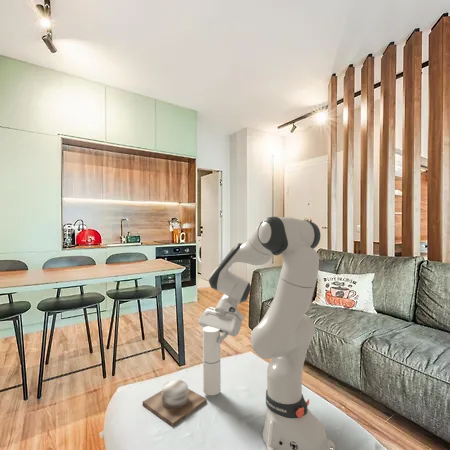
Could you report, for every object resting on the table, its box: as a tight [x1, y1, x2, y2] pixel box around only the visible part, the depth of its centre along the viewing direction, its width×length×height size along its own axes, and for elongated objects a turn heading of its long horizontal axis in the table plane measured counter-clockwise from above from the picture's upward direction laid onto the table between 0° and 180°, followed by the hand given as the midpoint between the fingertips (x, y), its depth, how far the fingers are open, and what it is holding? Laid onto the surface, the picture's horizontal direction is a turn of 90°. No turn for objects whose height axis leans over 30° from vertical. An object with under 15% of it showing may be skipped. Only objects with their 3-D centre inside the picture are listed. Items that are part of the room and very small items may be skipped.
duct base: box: [142, 379, 208, 427], centre depth 105 cm, size 18×17×6 cm
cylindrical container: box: [202, 326, 222, 396], centre depth 111 cm, size 7×7×25 cm
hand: (210, 340), depth 111 cm, fingers closed on cylindrical container, 7 cm apart
